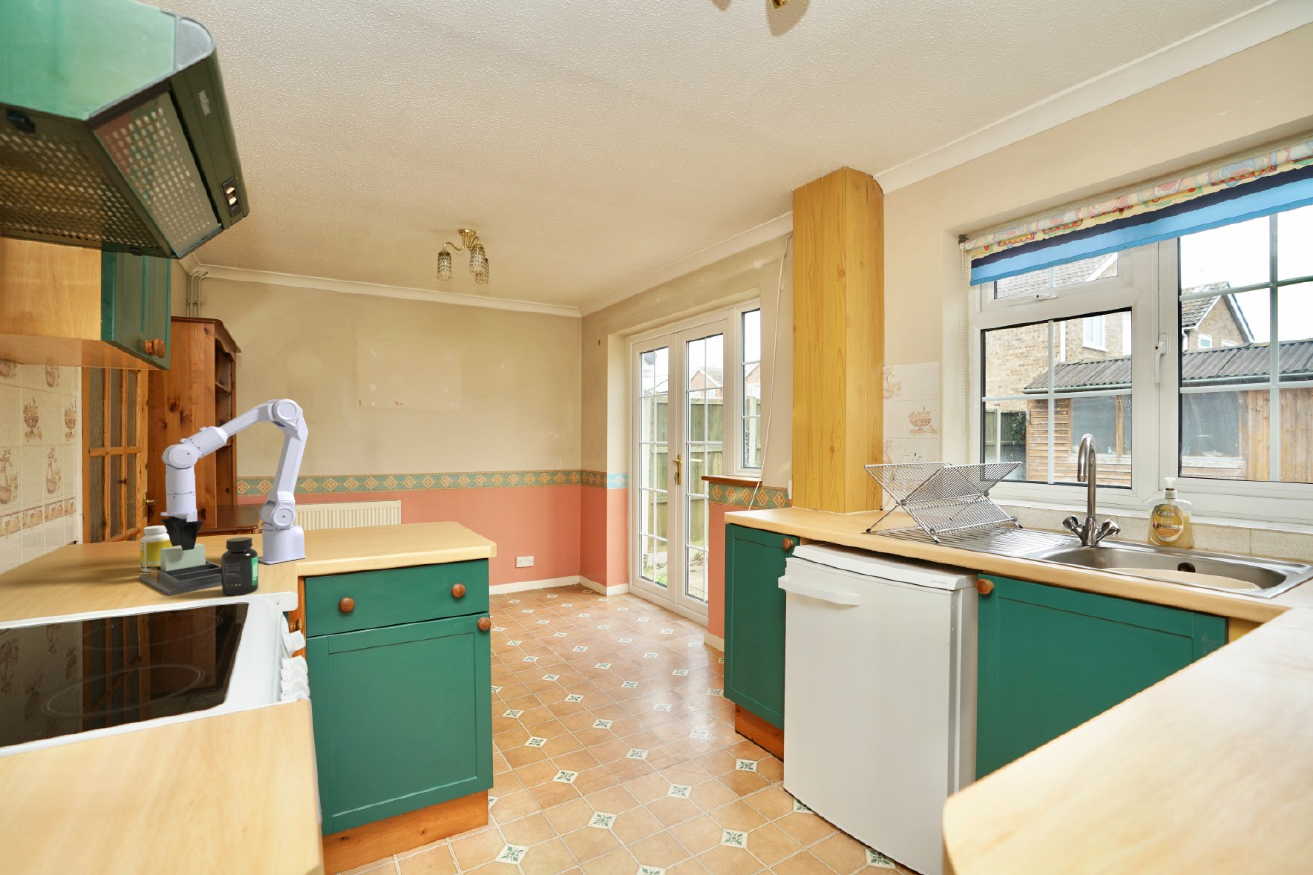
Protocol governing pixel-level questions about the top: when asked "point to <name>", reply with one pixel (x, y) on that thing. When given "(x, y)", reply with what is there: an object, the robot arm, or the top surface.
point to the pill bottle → (153, 546)
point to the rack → (184, 578)
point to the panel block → (182, 557)
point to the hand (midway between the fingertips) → (182, 547)
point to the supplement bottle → (239, 567)
